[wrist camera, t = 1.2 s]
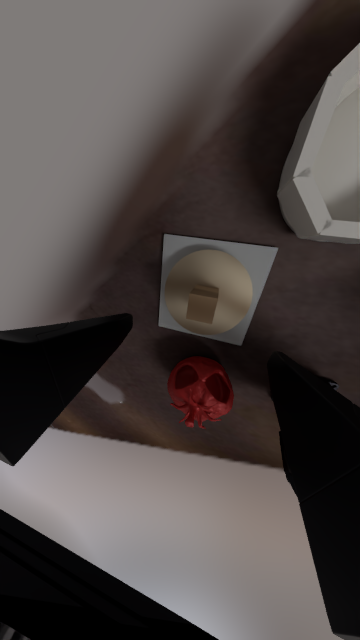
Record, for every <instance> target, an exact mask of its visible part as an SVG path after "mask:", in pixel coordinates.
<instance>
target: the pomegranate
mask: <svg viewBox="0 0 360 640" xmlns="http://www.w3.org/2000/svg"><path fill="white" fill-rule="evenodd" d="M167 384H168V392H169V394H170V396H171V398H172V400H173V401H174V403H175V404H176V405H175V404H173V403H171V404H170V405H173V406H174V407H175V408H176V409H178V410H181V411H182V412H183V413H185V414H186V415H185V417H184V418H183V419H182V420H181V421H180V422H182V421H184V420H185V419H186V418H187V417H188V418H187V419H186V420H185V424H186V426H188V427H193V425H194V419H195V420H197V421H198V425H199V427H200V428H205V427H204V426H202V421H205V420H207V419H209V420H210V421H219V420H221V419H218V420H215V418H218V417H220V416H222V415H225V414H227V413H228V412H229V411H230V410H231V408H232V405H233V398H234V394H233V390H232V385H231V382H230V380H229V377H228V375H227V373H226V371H225V369H224V368H223V366H222V365H221V364H219V363H218V362H217V361H215V360H212V359H210V358H206V357H200V356H192V357H188V358H186V359H184V360H182V361H180V362H179V363H178V364H177V365H176V366H175V368H174V369H173V370H172V372H171V374H170V376H169V379H168V383H167ZM180 422H179V423H180ZM205 429H206V428H205Z"/></svg>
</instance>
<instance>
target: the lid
mask: <svg viewBox="0 0 360 640" xmlns="http://www.w3.org/2000/svg"><path fill="white" fill-rule="evenodd" d="M252 296H253V288H252V282H251V279H250V276H249V274H248V272H247V270H246V269H245V267H244V266H243V265H242V264H241V263H240V262H239V261H238V260H237V259H236V258H234V257H233V256H231V255H229V254H228V253H225V252H222V251H218V250H200V251H196V252H193V253H191V254H188V255H187V256H185V257H183V258H182V259H181V260H179V261H178V262H177V263H176V264H175V266H174V267H173V268H172V270H171V271H170V273H169V275H168V277H167V280H166V284H165V301H166V305H167V308H168V310H169V312H170V314H171V316H172V317H173V318H174V320H175V321H176V322H177V323H178V324H179V325H181V326H182V327H183V328H185V329H187V330H189V331H191V332H193V333H197V334H202V335H215V334H220V333H223V332H226V331H228V330H230V329H232V328H233V327H235V326H236V325H237V324H238V323H239V322H240V321H241V320H242V319H243V318H244V317H245V315H246V314H247V312H248V310H249V308H250V305H251V302H252Z"/></svg>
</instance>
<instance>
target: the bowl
mask: <svg viewBox="0 0 360 640" xmlns="http://www.w3.org/2000/svg"><path fill="white" fill-rule="evenodd" d="M277 194H278V195H277V197H278V199H279V205H280V210H281V213H282V216H283V218H284V220H285V222H286V223H287V225H288V226H289V227H290V228H291V230H292V231H294V232H295V233H296V235H297V237H299V238H301V239H308V240H312V241H317V242H338V243H347V244H358V243H360V43H359V44H358V45H357V46H356V47H355V48H354V49H353V50H352V51H351V52H350V53H349V54H348V55H347V56H346V57H345V58H344V59H343V60H342V61H341V62H340V63H339V64H338V65H337V66H336V67H335V68H334V69H333V70H332V71H331V72H330V74H329V76H328V77H327V79H326V81H325V82H324V84H323V86H322V87H321V89H320V91H319V92H318V94H317V95H316V97H315V99H314V100H313V102H312V104H311V105H310V107H309V109H308V110H307V112H306V114H305V115H304V117H303V119H302V120H301V122H300V125H299V128H298V131H297V134H296V137H295V140H294V143H293V145H292V147H291V149H290V152H289V154H288V156H287V158H286V161H285V164H284V166H283V170H282V174H281V178H280V184H279V189H278V192H277Z"/></svg>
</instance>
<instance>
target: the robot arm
mask: <svg viewBox="0 0 360 640" xmlns="http://www.w3.org/2000/svg"><path fill="white" fill-rule="evenodd" d="M132 326H133V317H132V315H131V314H128V313H124V314H118V315H111V316H105V317H99V318H92V319H86V320H80V321H74V322H70V323H69V322H67V323H61V324H54V325H47V326H39V327H32V328H23V329H15V330H7V331H0V460H2V461H3V462H5V463H7V464H9V465H11V466H14V465H15V464H16V463H17V462H18V461H19V460H20V459H21V458H22V457H23V456H24V454H25V453H26V452H27V451H28V450H29V449H30V448H31V446H32V445H33V444H34V443H35V442H36V441H37V439H38V438H39V437H40V436H41V435H42V434H43V433H44V432H45V430H46V429H47V428H48V427H49V426H50V425H51V424H52V423H53V421H54V420H55V419H56V418H57V417H58V416H59V415H60V413H61V412H62V411H63V410H64V408H66V406H67V405H68V404H69V403H70V402H71V401H72V400H73V398H74V397H75V396H76V395H77V394H78V393H79V392H80V390H81V389H82V388H83V387H84V386H85V385H86V384H87V382H88V381H89V380H90V379H91V378H92V376H94V374H95V373H96V372H97V371H98V370H99V369H100V368H101V366H102V365H103V364H104V363H105V362H106V361H107V360H108V358H109V357H110V356H111V355H112V354H113V353H114V352H115V350H116V349H117V348H118V347H119V346H120V345H121V343H122V342H123V340H124V339H125V338H126V336H127V335H128V333H129V332H130V330H131V329H132ZM267 368H268V376H269V383H270V390H271V394H272V396H271V399H272V401H273V402H274V406H275V410H276V414H277V418H278V422H279V426H280V430H281V431H279V436H280V446H281V453H282V460H283V468H284V472H285V474H286V478H287V480H288V482H289V483H290V484H291V486H292V488H293V490H294V492H295V494H296V495H297V497H298V500H299V503H300V504H299V505H300V509H301V513H302V517H303V521H304V525H305V529H306V533H307V537H308V541H309V544H310V548H311V552H312V556H313V560H314V564H315V568H316V572H317V576H318V580H319V584H320V588H321V592H322V596H323V600H324V604H325V608H326V612H327V616H328V619H329V623H330V626H331V629H332V632H333V634H335V635H337V636H338V637H340V638H342V639H344V640H360V407H358V406H357V405H355V404H353V403H352V402H351V401H350V400H348V399H347V398H346V397H344V396H343V395H341V394H340V393H339V392H337V391H336V390H337V389H338V387H339V385H338V384H337V383H336V382H334V381H330V380H326V379H323V378H319V377H316V376H315V375H313V374H312V373H310V372H309V371H308V370H306V369H305V368H303V367H302V366H301V365H299V364H298V363H296V362H295V361H293V360H292V359H291V358H289V357H288V356H286V355H285V354H284V353H282V352H278V351H274V352H273V353H272V355H271V357H270V359H269V361H268V363H267ZM0 640H218V639H217V638H215V637H214V636H212V635H210V634H209V633H207V632H205V631H204V630H202V629H201V628H199V627H197V626H196V625H194V624H192V623H191V622H189V621H187V620H186V619H184V618H182V617H181V616H179V615H177V614H176V613H174V612H172V611H170V610H169V609H167V608H166V607H164V606H162V605H161V604H159V603H157V602H156V601H154V600H152V599H150V598H149V597H147V596H145V595H144V594H142V593H140V592H139V591H137V590H135V589H133V588H132V587H130V586H128V585H127V584H125V583H123V582H122V581H120V580H119V579H117V578H115V577H114V576H112V575H110V574H108V573H107V572H105V571H103V570H102V569H100V568H98V567H97V566H95V565H93V564H92V563H90V562H88V561H87V560H85V559H83V558H82V557H80V556H78V555H77V554H75V553H73V552H72V551H70V550H68V549H67V548H65V547H63V546H61V545H60V544H58V543H56V542H55V541H53V540H51V539H50V538H48V537H46V536H45V535H43V534H41V533H40V532H38V531H36V530H35V529H33V528H31V527H30V526H28V525H26V524H25V523H23V522H21V521H19V520H18V519H16V518H15V517H13V516H11V515H9V514H8V513H6V512H4V511H3V510H1V509H0Z"/></svg>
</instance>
